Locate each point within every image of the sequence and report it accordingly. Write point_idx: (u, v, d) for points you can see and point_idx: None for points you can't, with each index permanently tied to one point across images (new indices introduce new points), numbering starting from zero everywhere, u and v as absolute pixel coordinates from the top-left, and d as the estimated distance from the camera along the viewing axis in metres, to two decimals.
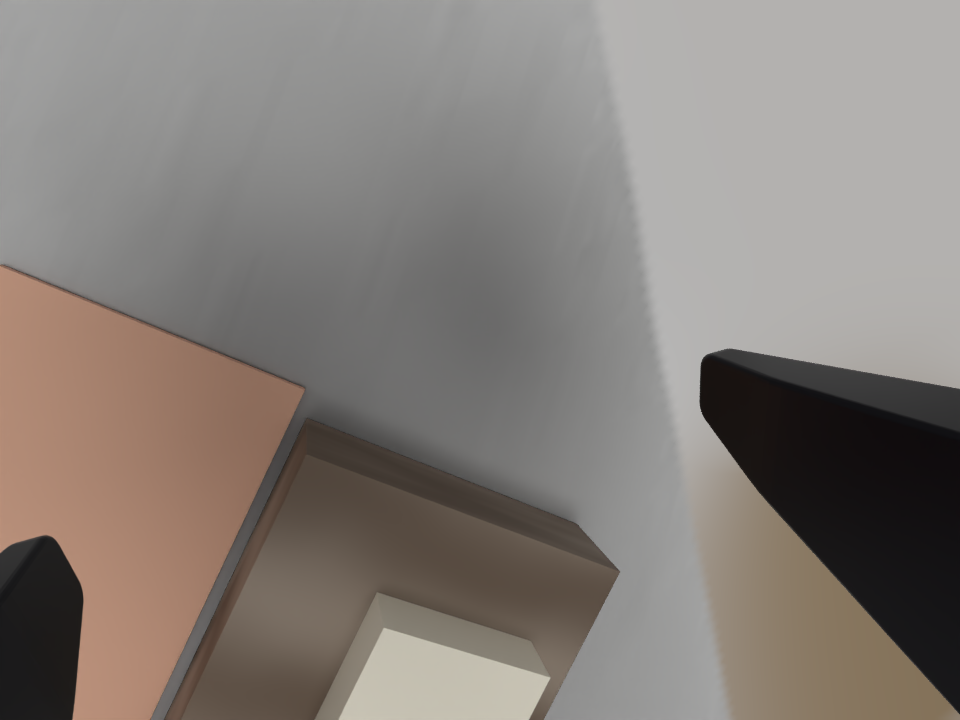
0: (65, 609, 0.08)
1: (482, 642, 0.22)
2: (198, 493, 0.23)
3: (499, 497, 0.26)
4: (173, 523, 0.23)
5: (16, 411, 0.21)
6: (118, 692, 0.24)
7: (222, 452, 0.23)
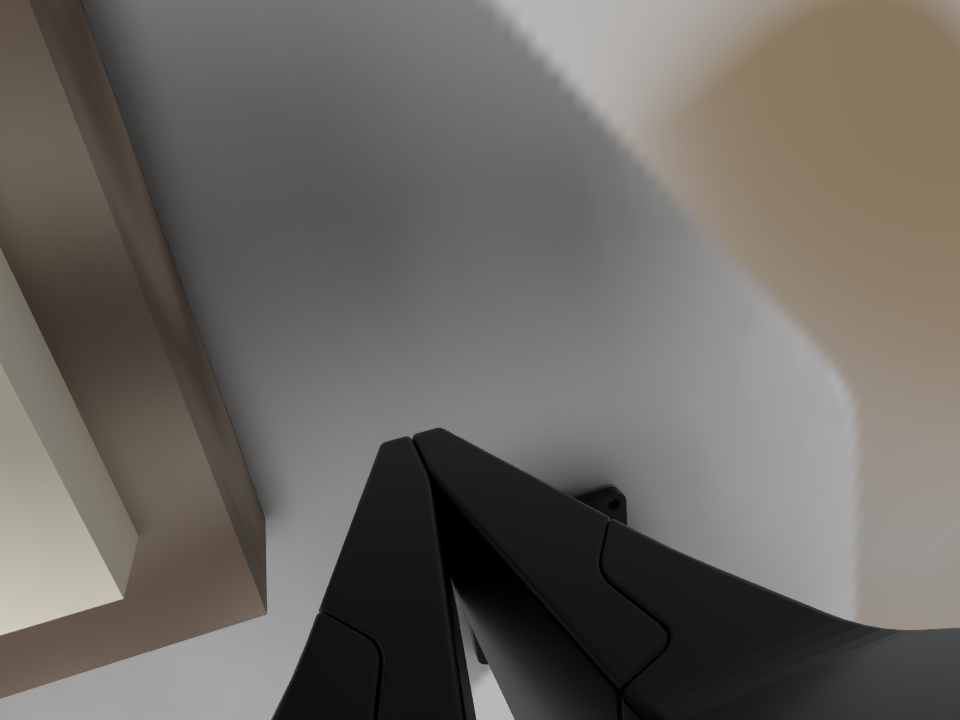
0: None
1: None
2: None
3: None
4: None
5: None
6: None
7: None
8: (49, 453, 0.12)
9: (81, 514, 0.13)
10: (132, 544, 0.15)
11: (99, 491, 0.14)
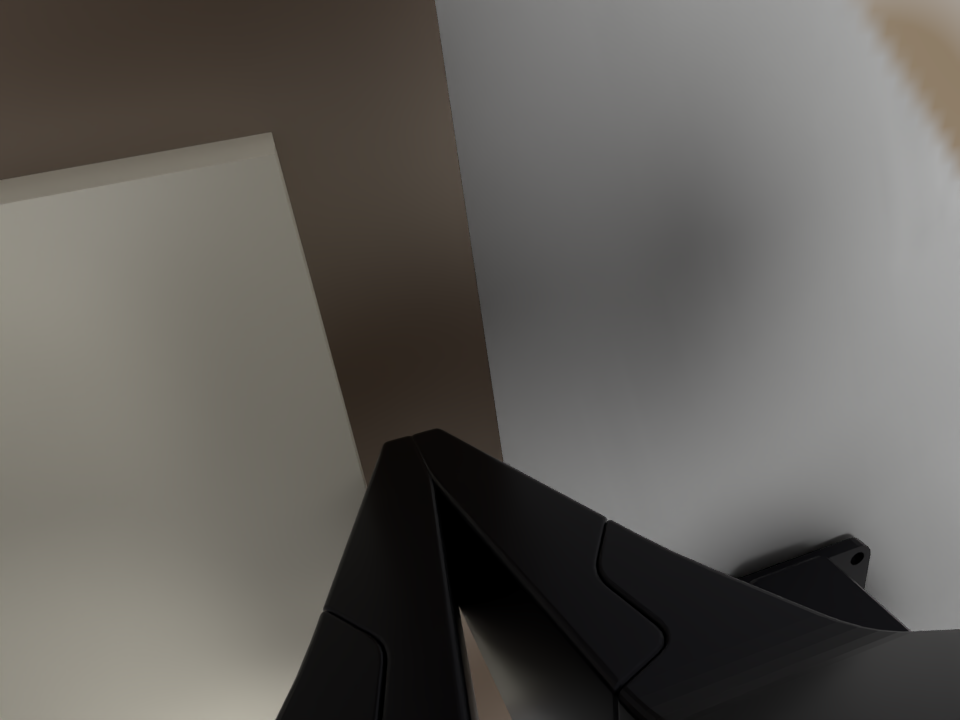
0: None
1: (32, 186, 0.06)
2: None
3: None
4: None
5: None
6: None
7: None
8: None
9: None
10: None
11: None
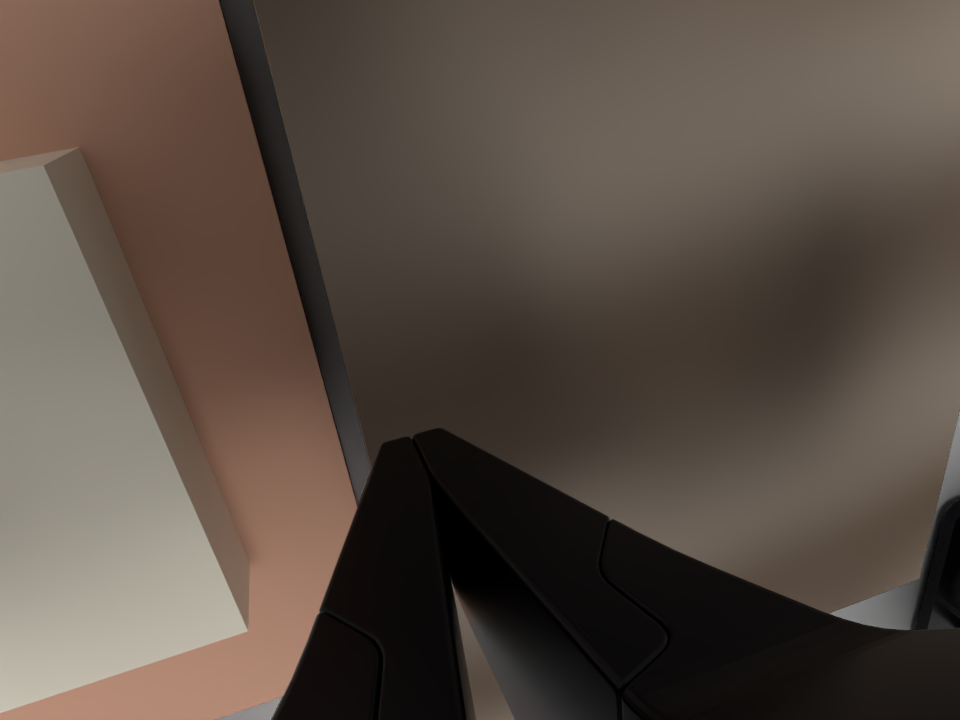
0: None
1: None
2: (142, 151, 0.11)
3: None
4: (148, 233, 0.11)
5: None
6: (291, 521, 0.14)
7: (113, 36, 0.10)
8: None
9: None
10: None
11: None
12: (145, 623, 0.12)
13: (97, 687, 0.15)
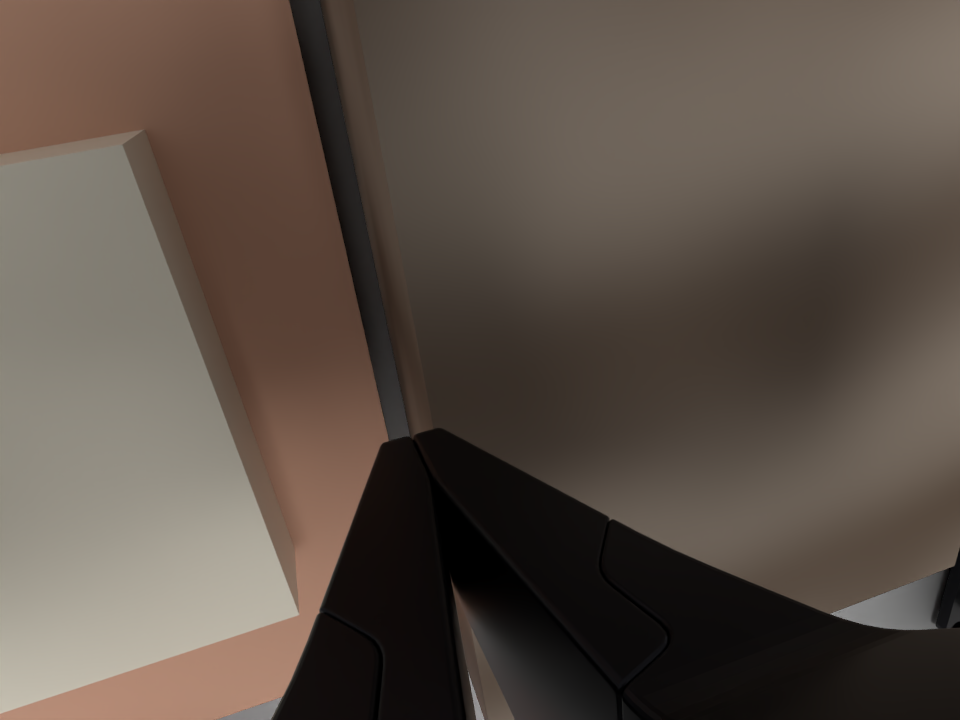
0: None
1: None
2: (205, 134, 0.11)
3: None
4: (208, 216, 0.11)
5: None
6: (336, 507, 0.15)
7: (181, 18, 0.10)
8: None
9: None
10: None
11: None
12: (200, 606, 0.12)
13: (141, 672, 0.15)
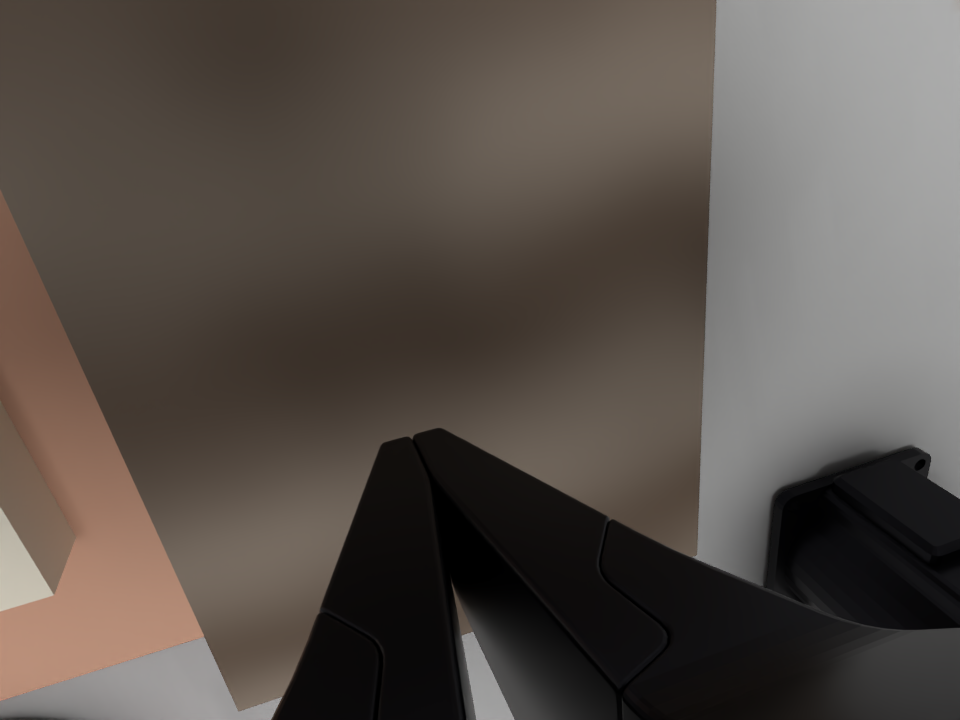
0: None
1: None
2: None
3: None
4: None
5: None
6: (112, 500, 0.16)
7: None
8: None
9: None
10: None
11: None
12: None
13: None
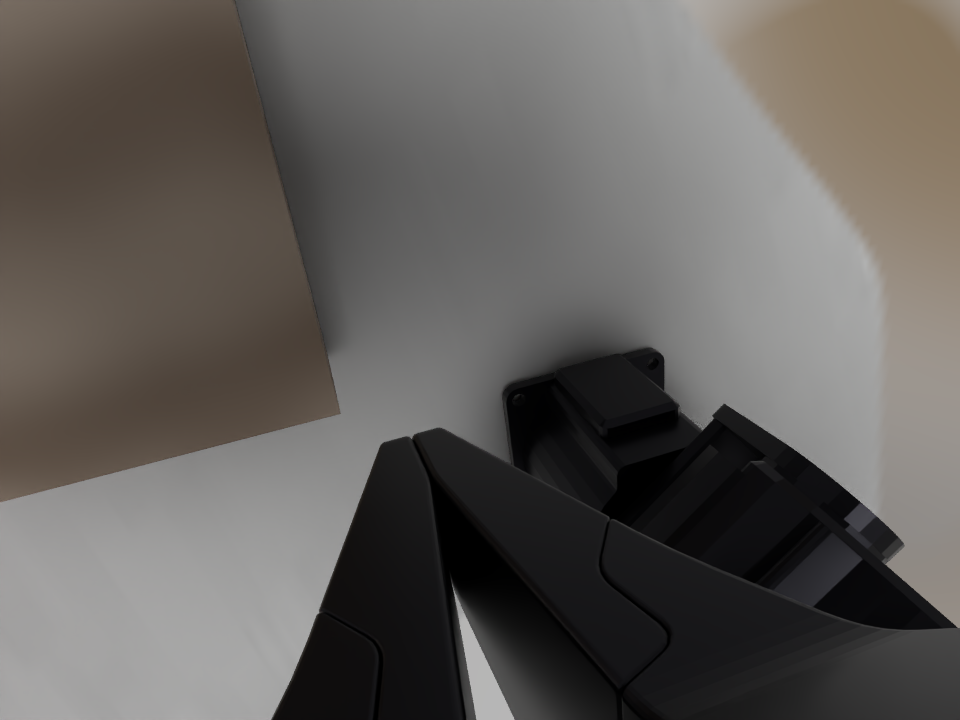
0: None
1: None
2: None
3: None
4: None
5: None
6: None
7: None
8: None
9: None
10: None
11: None
12: None
13: None
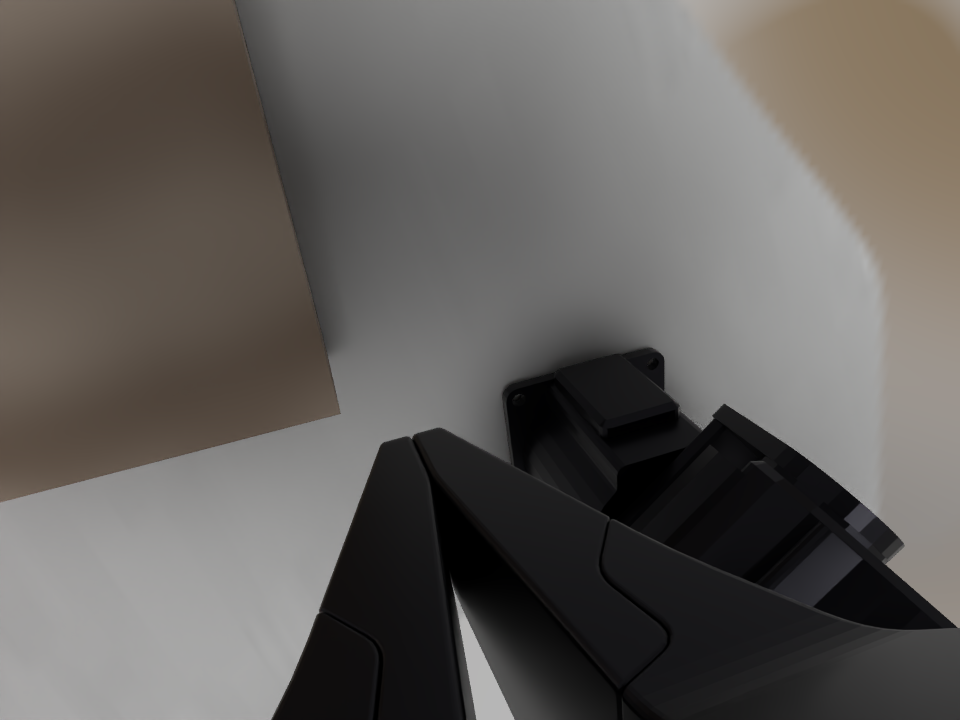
0: None
1: None
2: None
3: None
4: None
5: None
6: None
7: None
8: None
9: None
10: None
11: None
12: None
13: None
